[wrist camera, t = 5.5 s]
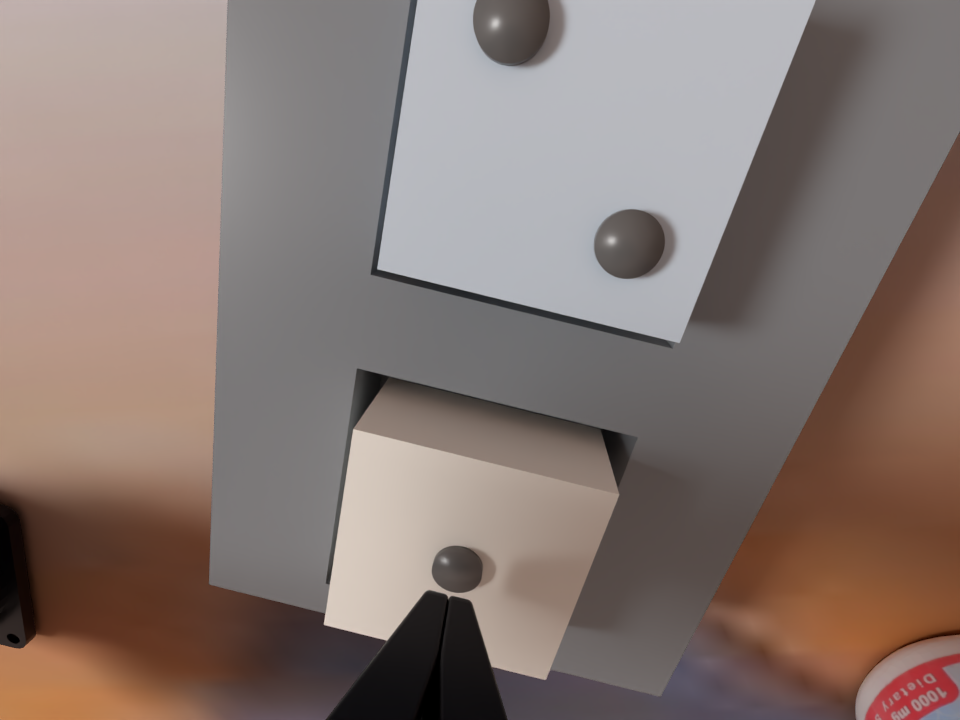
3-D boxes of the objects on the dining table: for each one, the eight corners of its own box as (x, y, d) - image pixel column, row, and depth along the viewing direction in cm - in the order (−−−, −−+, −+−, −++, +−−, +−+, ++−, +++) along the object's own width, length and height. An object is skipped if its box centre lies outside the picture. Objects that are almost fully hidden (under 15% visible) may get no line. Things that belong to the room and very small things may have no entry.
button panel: (633, 590, 16) (660, 697, 13) (274, 501, 16) (209, 584, 13) (1165, -598, 7) (1675, -1219, 4) (387, -777, 7) (275, -1530, 4)
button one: (542, 590, 13) (546, 689, 11) (360, 545, 13) (320, 632, 11) (600, 429, 11) (621, 501, 9) (389, 377, 11) (349, 434, 9)
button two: (644, 305, 10) (683, 347, 8) (411, 248, 10) (373, 271, 8) (744, 29, 8) (835, -34, 6) (461, -39, 8) (432, -131, 6)
